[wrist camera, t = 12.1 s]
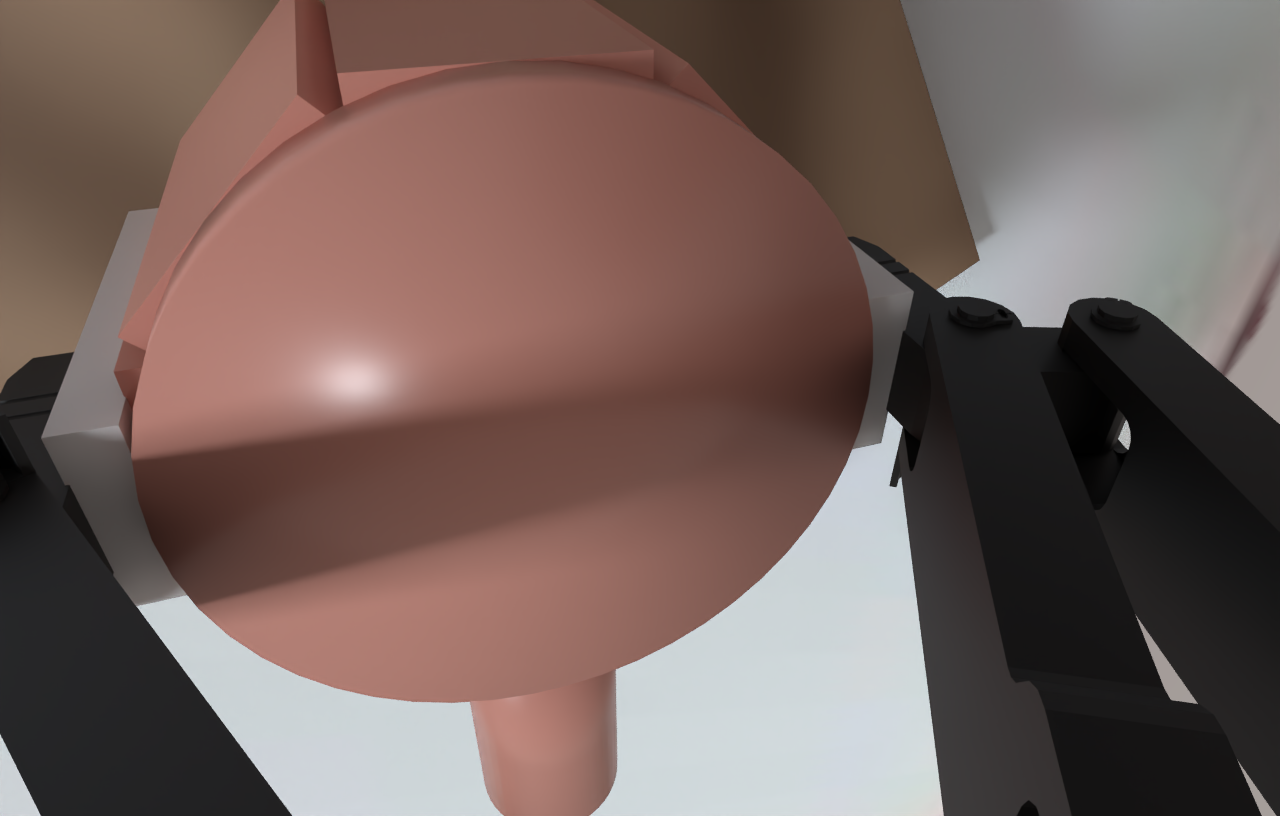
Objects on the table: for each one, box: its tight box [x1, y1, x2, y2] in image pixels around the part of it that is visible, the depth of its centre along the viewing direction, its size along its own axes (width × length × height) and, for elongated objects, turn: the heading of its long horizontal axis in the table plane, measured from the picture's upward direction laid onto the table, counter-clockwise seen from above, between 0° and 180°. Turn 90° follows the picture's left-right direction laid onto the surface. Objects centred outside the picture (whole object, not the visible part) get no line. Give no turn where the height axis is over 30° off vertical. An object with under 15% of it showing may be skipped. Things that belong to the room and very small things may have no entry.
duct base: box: [0, 0, 980, 393], centre depth 16 cm, size 22×22×10 cm
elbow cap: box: [114, 0, 873, 816], centre depth 16 cm, size 16×9×8 cm, turn 179°
